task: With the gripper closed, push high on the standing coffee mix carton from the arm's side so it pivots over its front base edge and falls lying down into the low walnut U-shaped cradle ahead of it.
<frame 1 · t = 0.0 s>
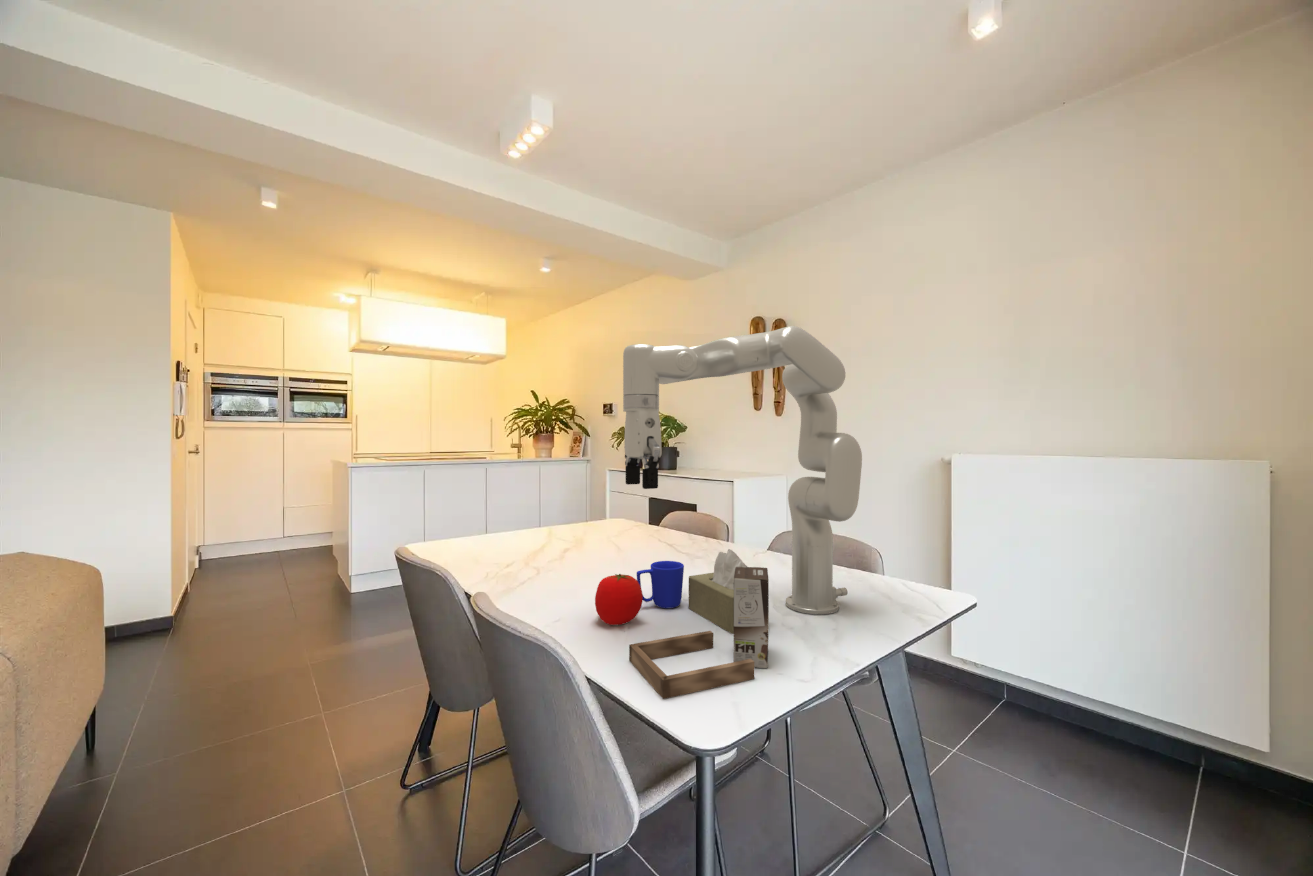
hand: (641, 486, 110), 31 cm above the table, fingers open, 9 cm apart
u rest: (689, 669, 94), on the table
tomato: (617, 622, 117), on the table
tissue box: (726, 618, 121), on the table
mug: (660, 607, 128), on the table
coffee box: (751, 658, 99), on the table
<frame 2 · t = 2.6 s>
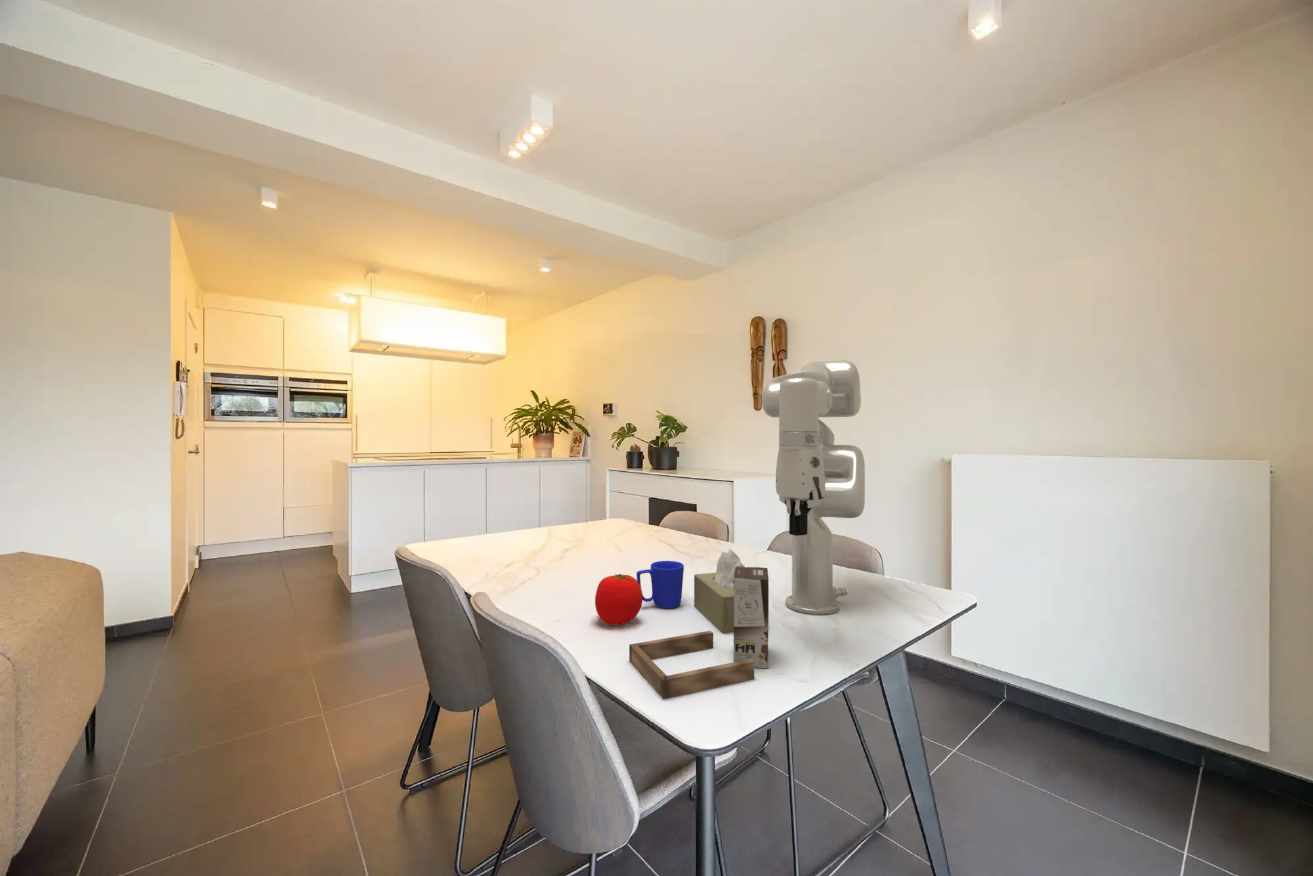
hand: (798, 534, 103), 22 cm above the table, fingers closed
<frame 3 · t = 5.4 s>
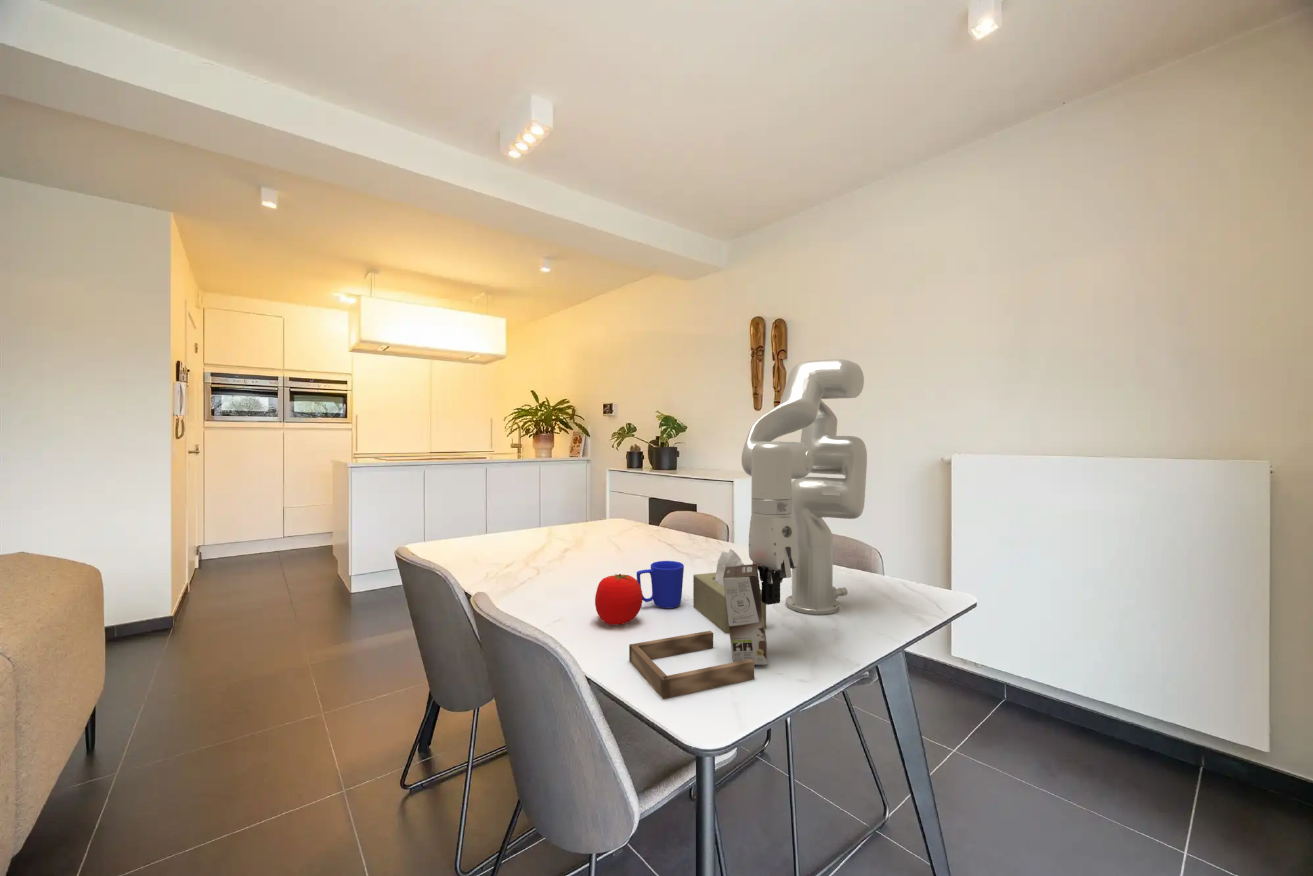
hand: (770, 602, 100), 10 cm above the table, fingers closed
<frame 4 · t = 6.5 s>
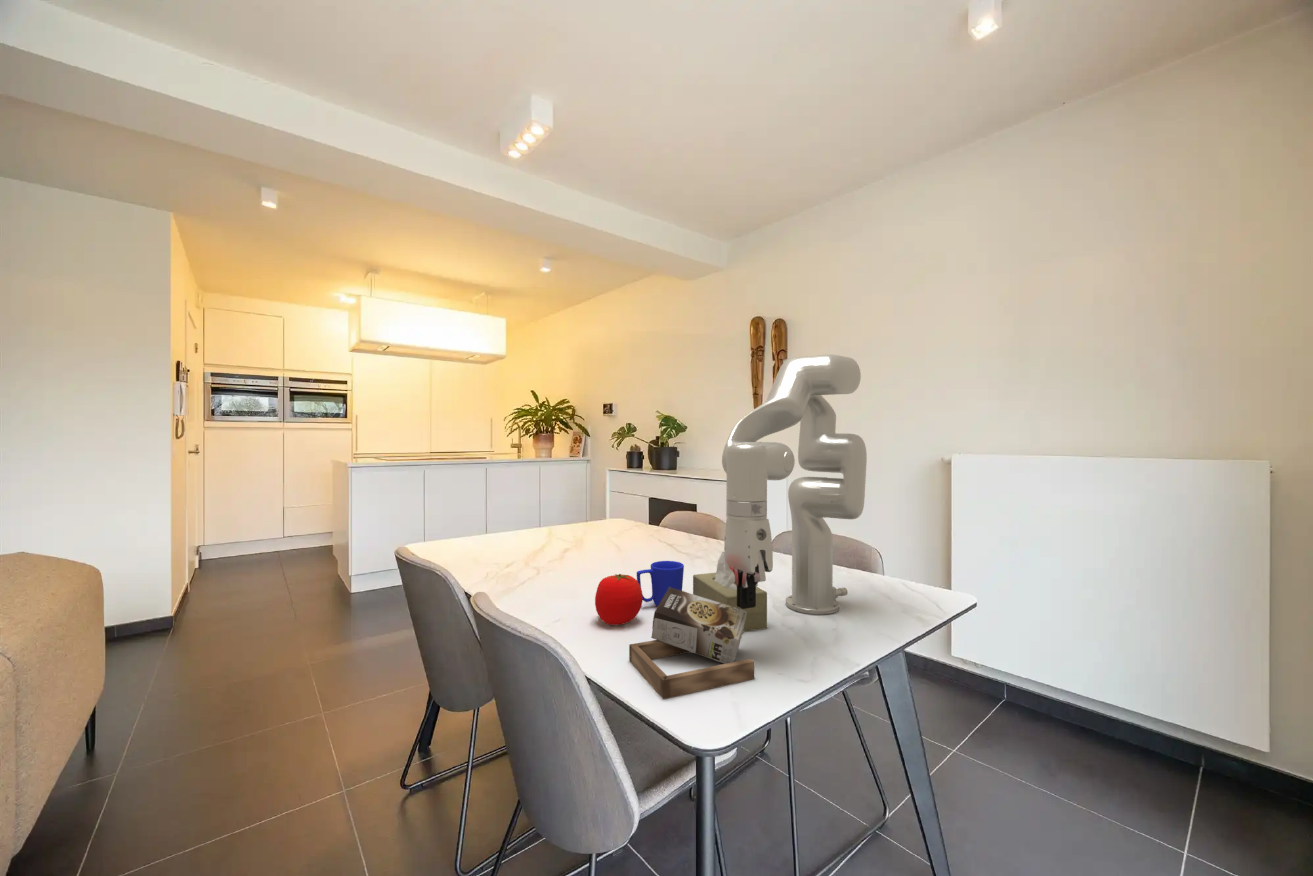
hand: (746, 606, 98), 10 cm above the table, fingers closed
coffee box: (741, 638, 98), point 4 cm above the table, touching u rest
everything else where it was.
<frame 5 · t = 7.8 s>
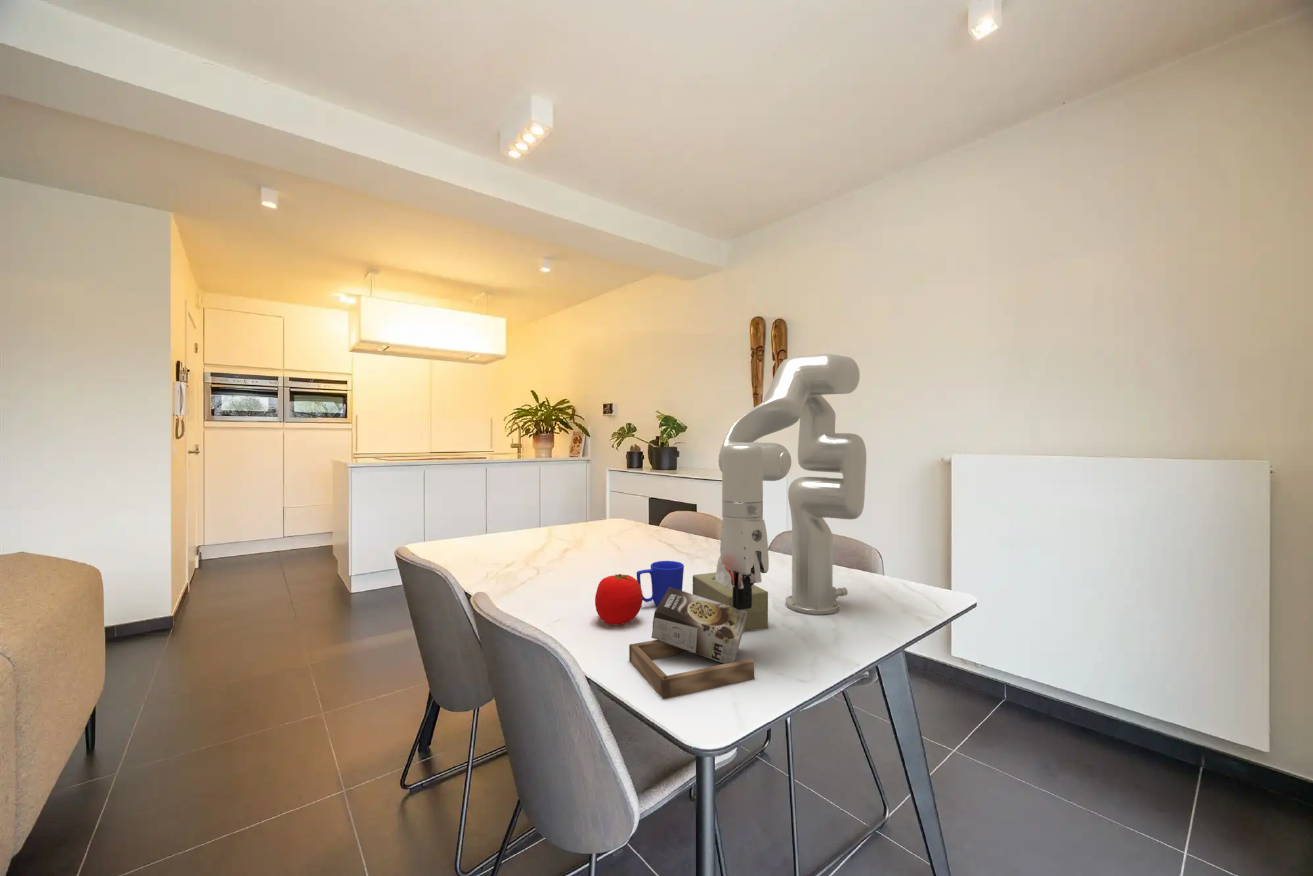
hand: (742, 607, 98), 10 cm above the table, fingers closed
nothing on the table moved.
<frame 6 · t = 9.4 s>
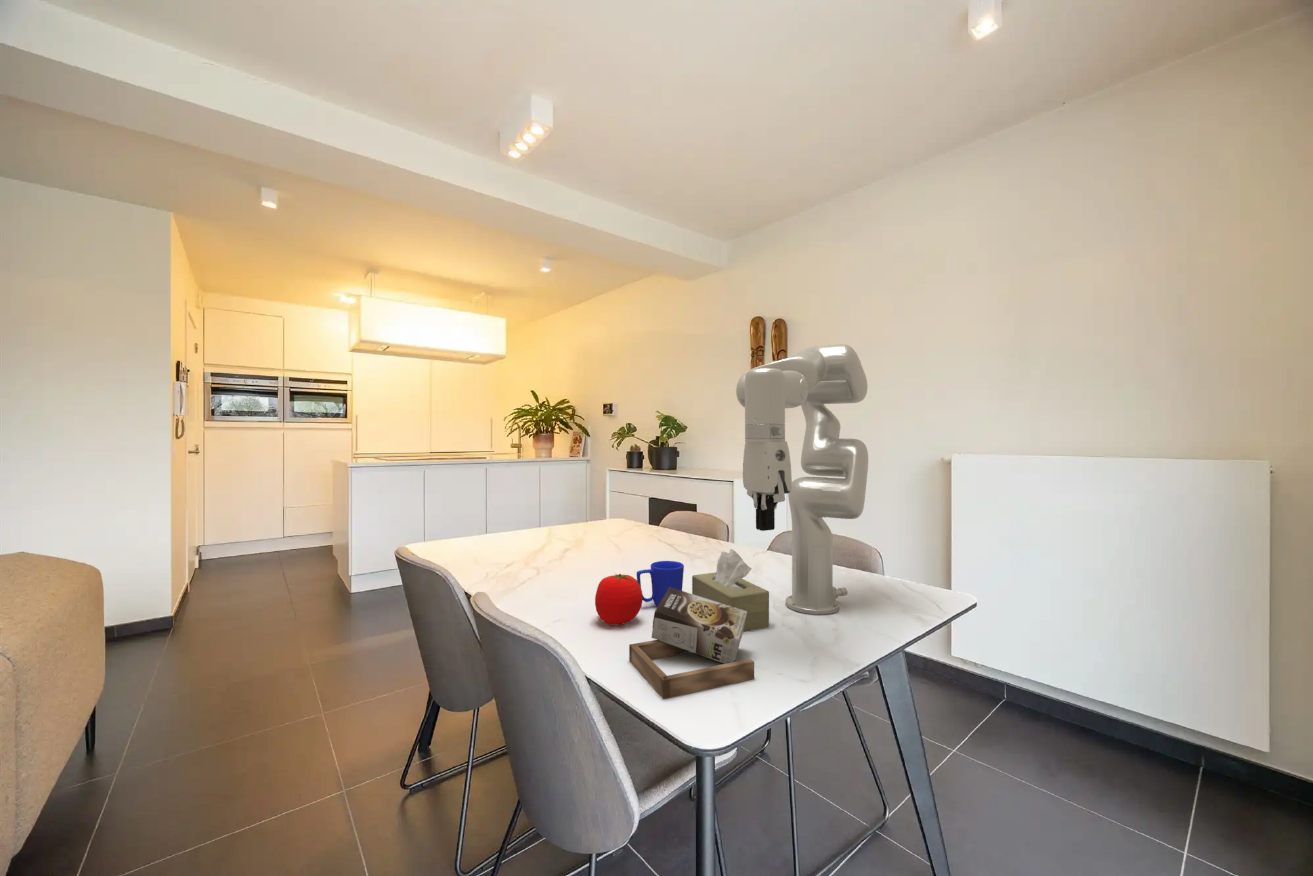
hand: (765, 529, 100), 24 cm above the table, fingers closed
nothing on the table moved.
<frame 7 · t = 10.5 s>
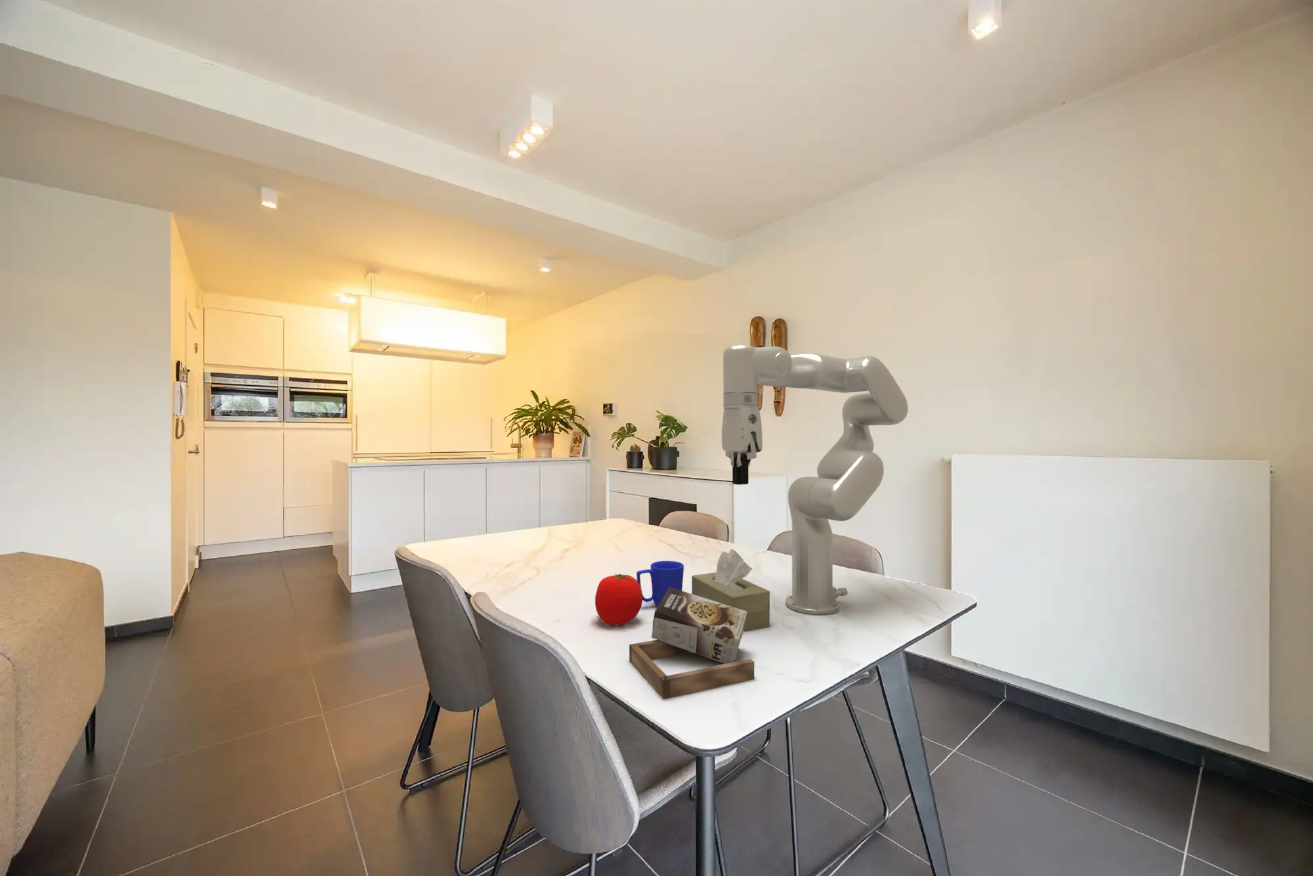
hand: (740, 484, 117), 31 cm above the table, fingers closed
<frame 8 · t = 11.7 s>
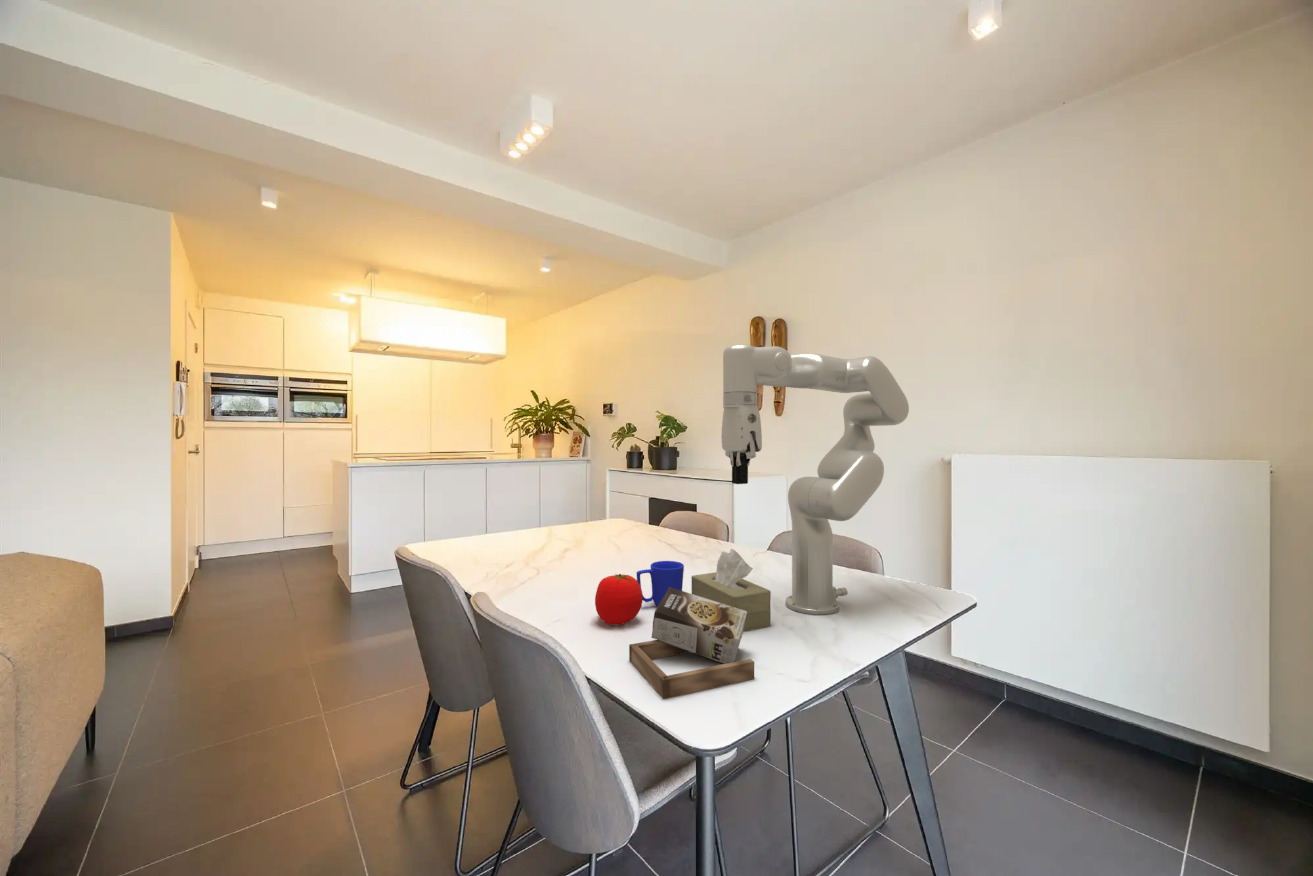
hand: (739, 483, 117), 31 cm above the table, fingers closed
nothing on the table moved.
at the end: coffee box tilted 77°; coffee box inside the target area (3.7 cm from its centre), point 4.0 cm above the table; the gripper is holding nothing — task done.
